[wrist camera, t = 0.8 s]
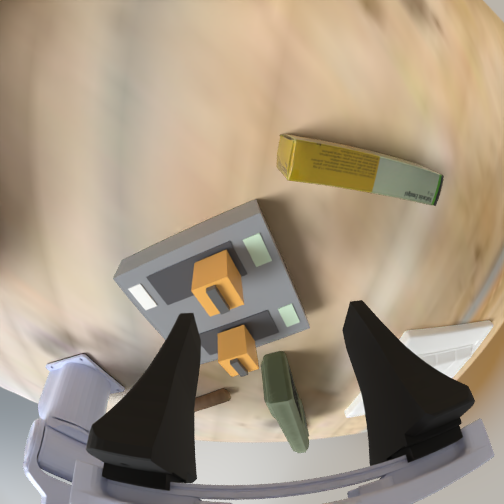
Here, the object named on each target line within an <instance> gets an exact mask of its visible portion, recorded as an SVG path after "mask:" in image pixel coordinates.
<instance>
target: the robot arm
mask: <svg viewBox="0 0 504 504" xmlns="http://www.w3.org/2000/svg"><path fill="white" fill-rule="evenodd" d="M343 335H344V340H345V344H346V348H347V352H348V355H349V357H350V360H351V363H352V366H353V369H354V372H355V375H356V378H357V381H358V384H359V387H360V391H361V394H362V399H363V404H364V410H365V416H366V423H367V431H368V439H369V456H370V467H366V468H362V469H358V470H354V471H350V472H345V473H341V474H336V475H331V476H326V477H320V478H314V479H308V480H301V481H293V482H284V483H273V484H259V485H200V484H186V483H193V482H194V481H195V480H196V479H197V475H196V463H195V441H194V408H195V398H196V390H197V383H198V376H199V368H200V361H201V339H200V335H199V332H198V328H197V324H196V321H195V317H194V313H180V314H179V315H178V318H177V320H176V322H175V324H174V326H173V328H172V329H171V331H170V333H169V335H168V337H167V339H166V340H165V342H164V344H163V345H162V347H161V349H160V351H159V352H158V354H157V355H156V357H155V358H154V360H153V361H152V363H151V364H150V366H149V367H148V369H147V370H146V371H145V373H144V374H143V375H142V377H141V378H140V379H139V380H138V382H137V383H136V384H135V385H134V386H133V387H132V389H131V390H130V391H129V392H128V393H127V394H126V395H125V396H124V397H123V398H122V399H121V400H120V401H119V402H118V403H117V404H116V405H115V406H114V407H113V408H112V409H111V410H110V411H108V412H107V413H106V408H107V403H108V399H109V394H111V393H117V392H123V391H124V390H125V388H124V387H123V386H122V385H121V384H119V383H118V382H117V381H116V380H114V379H113V378H112V377H111V376H109V375H108V374H107V373H106V372H105V371H104V370H102V369H101V368H100V367H99V366H98V365H97V364H95V363H94V362H93V361H92V360H91V359H90V358H89V357H88V356H86V355H85V354H81V355H78V356H74V357H71V358H67V359H64V360H60V361H57V362H53V363H49V364H46V368H47V369H48V370H49V371H50V372H49V375H48V377H47V380H46V383H45V386H44V388H43V391H42V394H41V397H40V400H39V404H38V411H39V415H40V418H39V419H36V420H34V422H33V424H32V426H31V429H30V431H29V435H28V438H27V442H26V447H25V453H24V456H25V457H24V462H23V469H24V473H25V475H26V476H27V478H28V479H29V480H30V482H31V483H32V484H33V485H34V487H35V488H36V489H37V490H38V492H39V493H40V494H41V496H42V498H41V504H231V503H224V502H209V501H202V500H200V499H224V500H226V499H227V500H228V499H229V500H230V499H231V500H239V499H265V498H277V497H287V496H296V495H303V494H310V493H316V492H321V491H327V490H332V489H337V488H342V487H346V486H350V485H354V484H358V483H362V482H366V481H369V480H372V479H376V478H379V477H381V478H380V479H379V480H377V481H374V482H371V483H368V484H365V485H362V486H359V487H358V488H356V489H354V490H351V491H349V492H348V493H347V494H348V499H344V500H339V501H334V502H329V503H325V504H413V503H415V502H417V501H419V500H421V499H424V498H426V497H428V496H429V495H431V494H433V493H435V492H437V491H439V490H441V489H443V488H445V487H447V486H448V485H450V484H452V483H453V482H455V481H457V480H458V479H460V478H462V477H464V476H465V475H467V474H468V473H470V472H472V471H473V470H475V469H476V468H478V467H479V466H481V465H483V464H484V463H486V462H487V461H489V460H490V459H492V458H493V457H494V452H493V450H492V446H491V443H490V441H489V438H488V435H487V432H486V430H485V427H484V424H483V422H482V419H478V420H476V421H474V422H473V423H471V424H469V425H467V426H465V427H463V428H462V429H460V427H459V425H460V424H461V419H460V417H461V416H462V415H463V414H464V413H465V412H466V411H467V410H468V409H470V408H471V406H473V404H474V402H475V400H474V398H473V395H472V393H471V391H470V389H469V387H468V386H467V385H465V384H462V383H460V382H458V381H456V380H454V379H452V378H450V377H448V376H447V375H445V374H443V373H441V372H440V371H438V370H437V369H435V368H433V367H432V366H431V365H429V364H428V363H426V362H425V361H423V360H422V359H421V358H419V357H418V356H417V355H416V354H415V353H413V352H412V351H411V350H410V349H409V348H407V347H406V346H405V345H404V344H403V343H402V342H401V341H400V340H399V339H398V338H397V337H396V336H395V335H394V334H393V333H392V332H391V331H390V330H389V329H388V328H387V327H386V326H385V325H384V324H383V323H382V322H381V321H380V320H379V318H378V317H377V316H376V315H375V314H374V313H373V312H372V311H371V310H370V308H369V307H368V306H367V305H366V304H365V303H364V302H363V301H362V300H360V301H352V302H350V304H349V308H348V312H347V316H346V320H345V323H344V327H343ZM105 413H106V414H105ZM40 468H41V469H43V470H45V471H47V472H49V473H51V474H54V475H56V476H58V477H61V478H63V479H65V480H68V481H70V482H72V485H69V484H67V483H65V482H62V481H60V480H57V479H55V478H53V477H50V476H48V475H47V474H45V473H44V472H43V471H42V470H41V469H40Z"/></svg>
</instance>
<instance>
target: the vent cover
mask: <svg viewBox="0 0 504 504" xmlns="http://www.w3.org/2000/svg"><path fill="white" fill-rule="evenodd" d="M492 327H493V324H492V322H491V321H490V320H487V321H480V322H474V323H467V324H459V325H451V326H443V327H434V328H424V329H413V330H406V331H405V332H404V333H403V335H402V336H401V338H400V339H399V340H400V341H401V342H402V343H403V344H404V345H405V346H406V347H407V348H409V349H410V350H411V351H412V352H413V353H415V354H416V355H417V356H418V357H419V358H421V359H422V360H423V361H425V362H426V363H428V364H429V365H431V366H432V367H433V368H435V369H437V370H438V371H440V372H441V373H443V374H445V375H447V376H448V377H450V378H453V377H454V375H455V374H456V373H457V372H458V371H459V370H460V369H461V367H462V366H463V365H464V364H465V363H466V362H467V360H468V359H470V358H471V356H472V354H473V353H474V352H475V350H476V349H477V348H478V347H479V345H480V344H481V343H482V341H483V340H484V339H485V337H486V336H487V334H488V333H489V332H490V330H491V329H492ZM344 412H345V415H346V417H347V418H350V417H355V416H361V415H365V410H364V404H363V399H362V394H361V392H360V393H359V395H358V396H357V397H356V398H355V399H354V401H353V402H352V403H351V404H350V405H349V406H348V408H347V409H346V410H345V411H344Z"/></svg>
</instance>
